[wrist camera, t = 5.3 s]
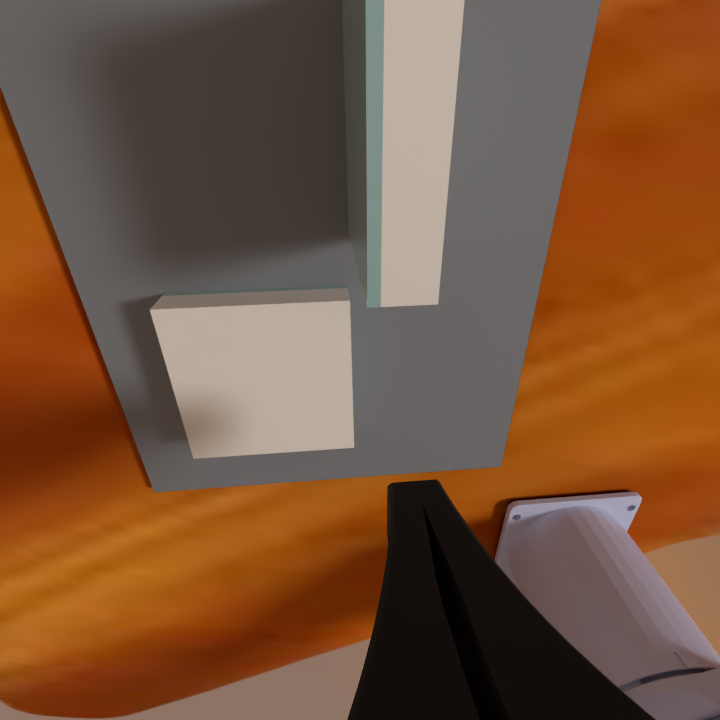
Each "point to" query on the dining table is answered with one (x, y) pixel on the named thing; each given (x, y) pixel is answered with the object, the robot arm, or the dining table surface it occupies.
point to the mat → (292, 205)
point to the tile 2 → (399, 141)
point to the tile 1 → (260, 368)
